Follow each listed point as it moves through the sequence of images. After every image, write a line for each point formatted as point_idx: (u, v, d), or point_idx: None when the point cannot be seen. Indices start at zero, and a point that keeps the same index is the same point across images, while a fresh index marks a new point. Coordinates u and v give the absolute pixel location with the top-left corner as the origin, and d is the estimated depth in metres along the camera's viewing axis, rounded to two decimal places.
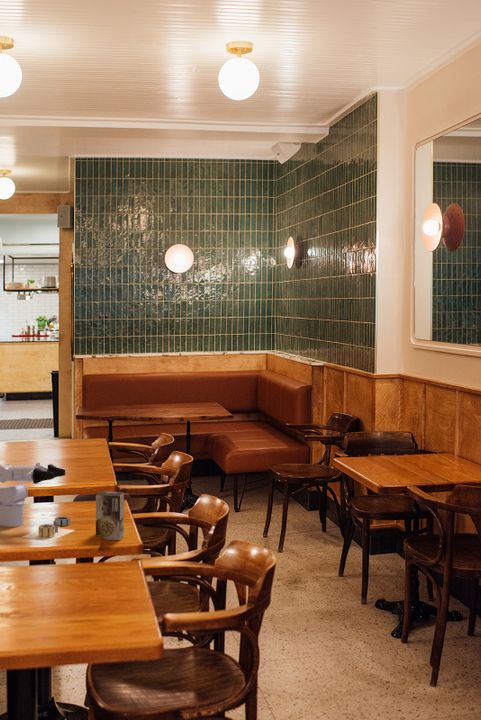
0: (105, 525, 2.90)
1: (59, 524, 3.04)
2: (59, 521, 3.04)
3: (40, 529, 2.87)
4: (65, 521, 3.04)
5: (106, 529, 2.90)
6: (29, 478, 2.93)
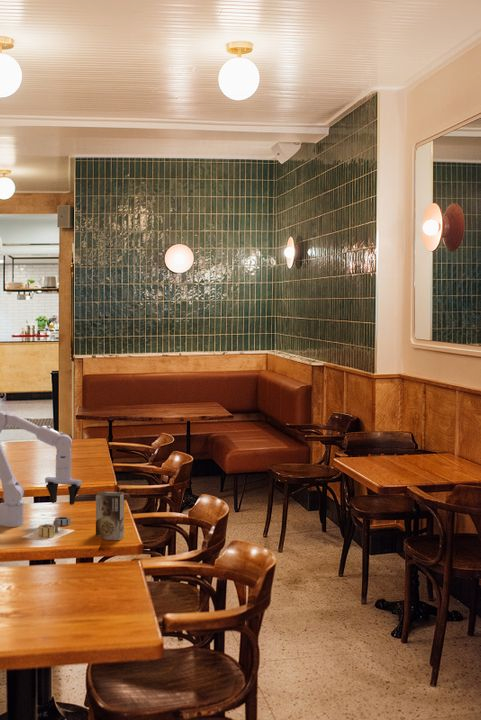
0: (105, 525, 2.90)
1: (59, 524, 3.04)
2: (59, 521, 3.04)
3: (40, 529, 2.87)
4: (65, 521, 3.04)
5: (106, 529, 2.90)
6: (79, 484, 3.03)
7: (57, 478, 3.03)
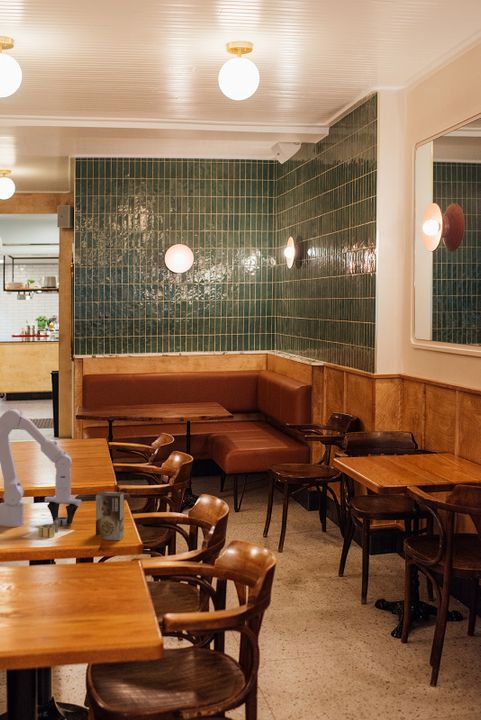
0: (105, 525, 2.90)
1: (59, 524, 3.04)
2: (59, 521, 3.04)
3: (40, 529, 2.87)
4: (65, 521, 3.04)
5: (106, 529, 2.90)
6: (79, 504, 3.03)
7: (57, 498, 3.04)
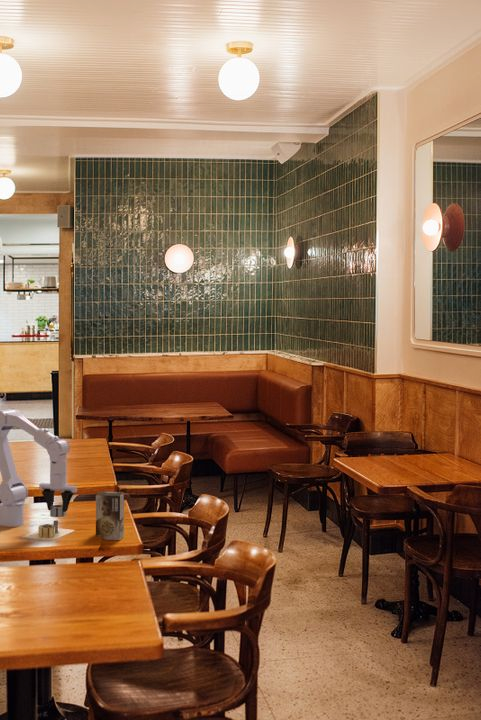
0: (105, 525, 2.90)
1: (54, 512, 2.94)
2: (54, 509, 2.94)
3: (40, 529, 2.87)
4: (61, 509, 2.95)
5: (106, 529, 2.90)
6: (74, 491, 2.94)
7: (52, 484, 2.94)
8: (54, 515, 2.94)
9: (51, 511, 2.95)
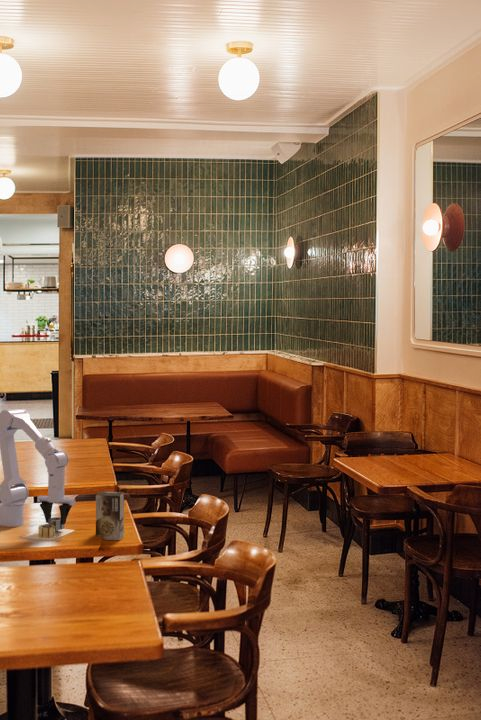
0: (105, 525, 2.90)
1: None
2: (52, 522, 2.92)
3: (40, 529, 2.87)
4: (59, 522, 2.92)
5: (106, 529, 2.90)
6: (73, 503, 2.91)
7: (50, 497, 2.92)
8: None
9: None
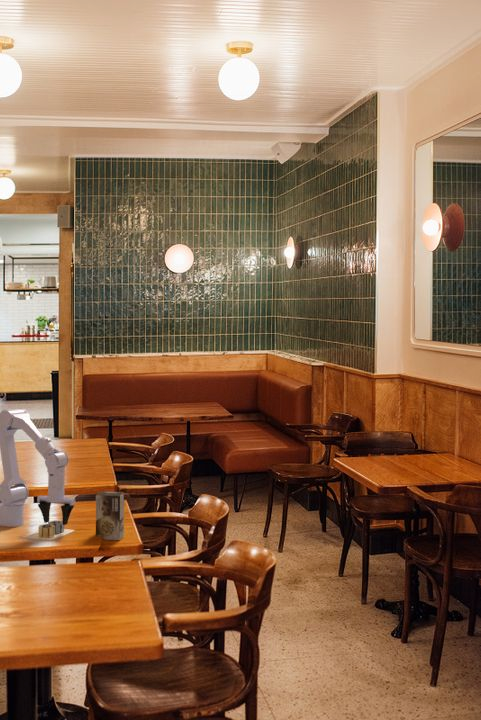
0: (105, 525, 2.90)
1: None
2: None
3: (40, 529, 2.87)
4: (59, 525, 2.92)
5: (106, 529, 2.90)
6: (73, 503, 2.91)
7: (50, 497, 2.92)
8: None
9: None
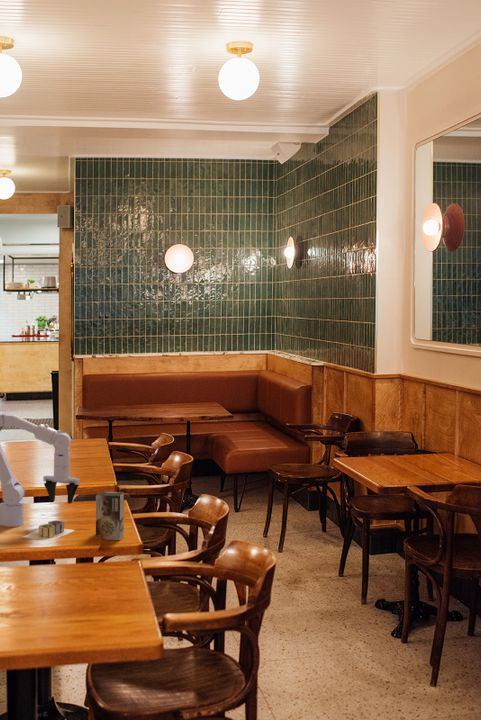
0: (105, 525, 2.90)
1: None
2: None
3: (40, 529, 2.87)
4: (59, 525, 2.92)
5: (106, 529, 2.90)
6: (77, 483, 3.01)
7: (55, 476, 3.02)
8: None
9: None
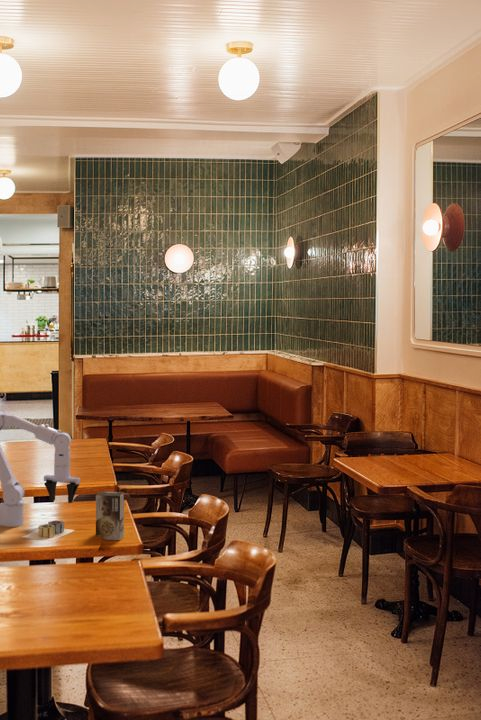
0: (105, 525, 2.90)
1: None
2: None
3: (40, 529, 2.87)
4: (59, 525, 2.92)
5: (106, 529, 2.90)
6: (78, 482, 3.02)
7: (56, 476, 3.02)
8: None
9: None
